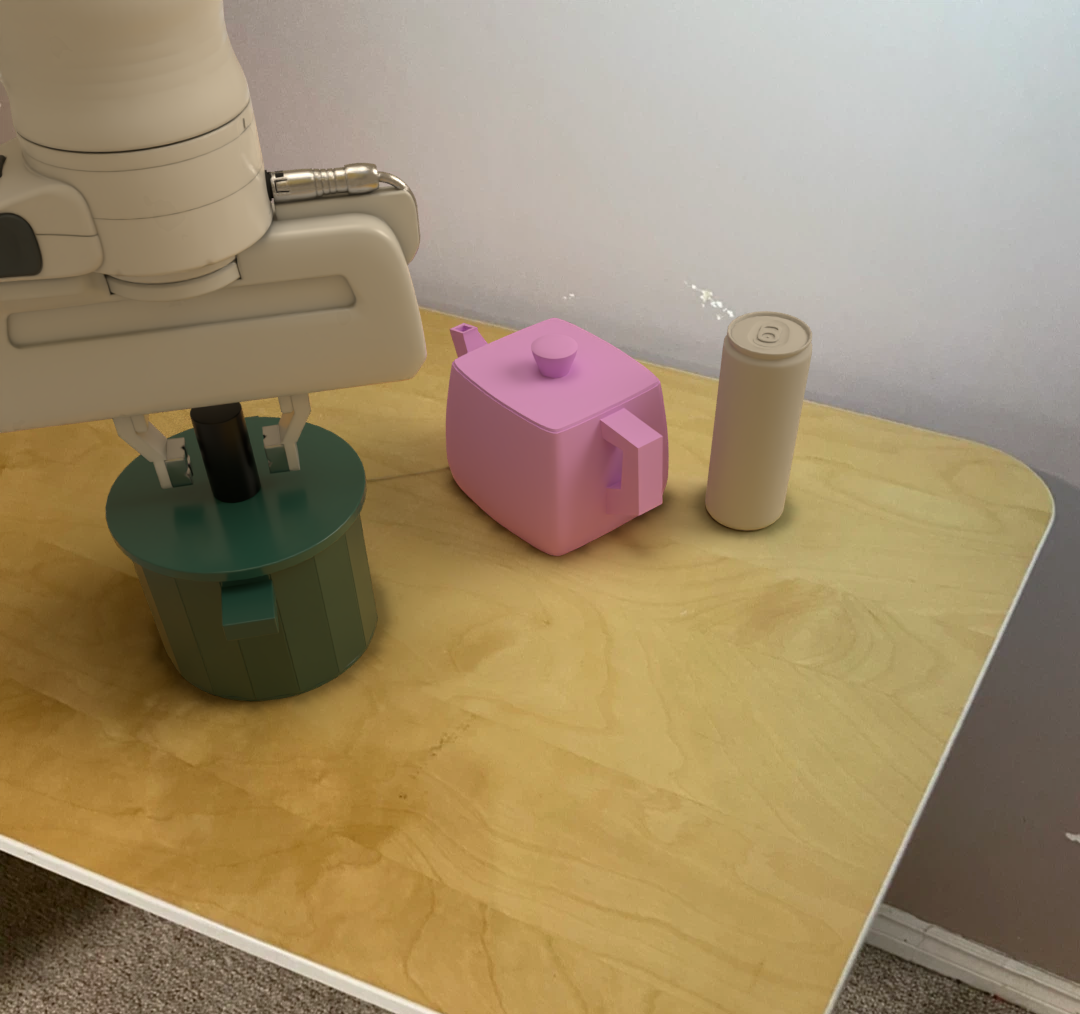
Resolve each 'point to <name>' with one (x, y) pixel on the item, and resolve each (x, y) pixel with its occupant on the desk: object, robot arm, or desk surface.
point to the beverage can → (757, 418)
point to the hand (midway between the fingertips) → (232, 472)
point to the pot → (269, 623)
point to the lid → (236, 502)
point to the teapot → (555, 433)
